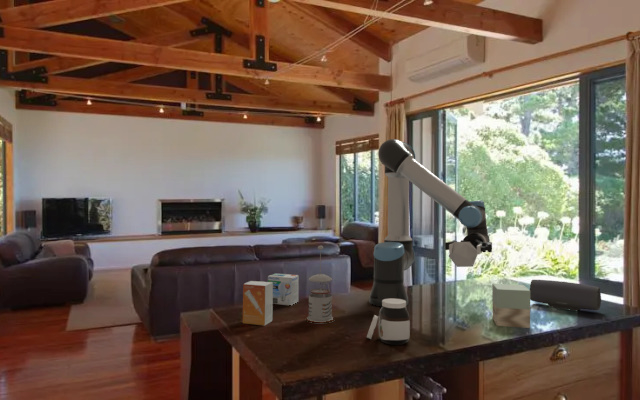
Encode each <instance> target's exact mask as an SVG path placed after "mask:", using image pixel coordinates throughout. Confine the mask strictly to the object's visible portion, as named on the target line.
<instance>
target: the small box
mask: <svg viewBox="0 0 640 400" xmlns="http://www.w3.org/2000/svg"><path fill="white" fill-rule="evenodd" d="M273 305H274V304H273V282H268V281H256V280H249V281H247V282H245V283H243V284H242V324H247V325H255V326H256V325H257V326H264V327H265V326H266V325H269V324H270V323H271V322H273V312H274V311H273V309H274V308H273V307H274V306H273Z"/></svg>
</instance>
